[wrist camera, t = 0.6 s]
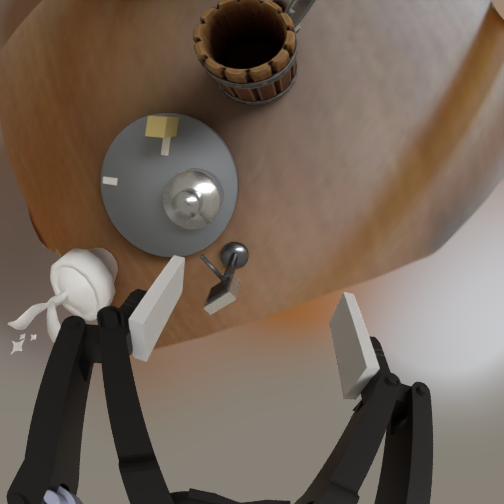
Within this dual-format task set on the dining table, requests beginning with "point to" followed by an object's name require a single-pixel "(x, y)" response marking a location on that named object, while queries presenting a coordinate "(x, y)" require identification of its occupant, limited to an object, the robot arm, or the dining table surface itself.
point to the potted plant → (75, 289)
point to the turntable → (164, 181)
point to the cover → (193, 198)
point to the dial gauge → (226, 277)
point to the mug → (251, 47)
